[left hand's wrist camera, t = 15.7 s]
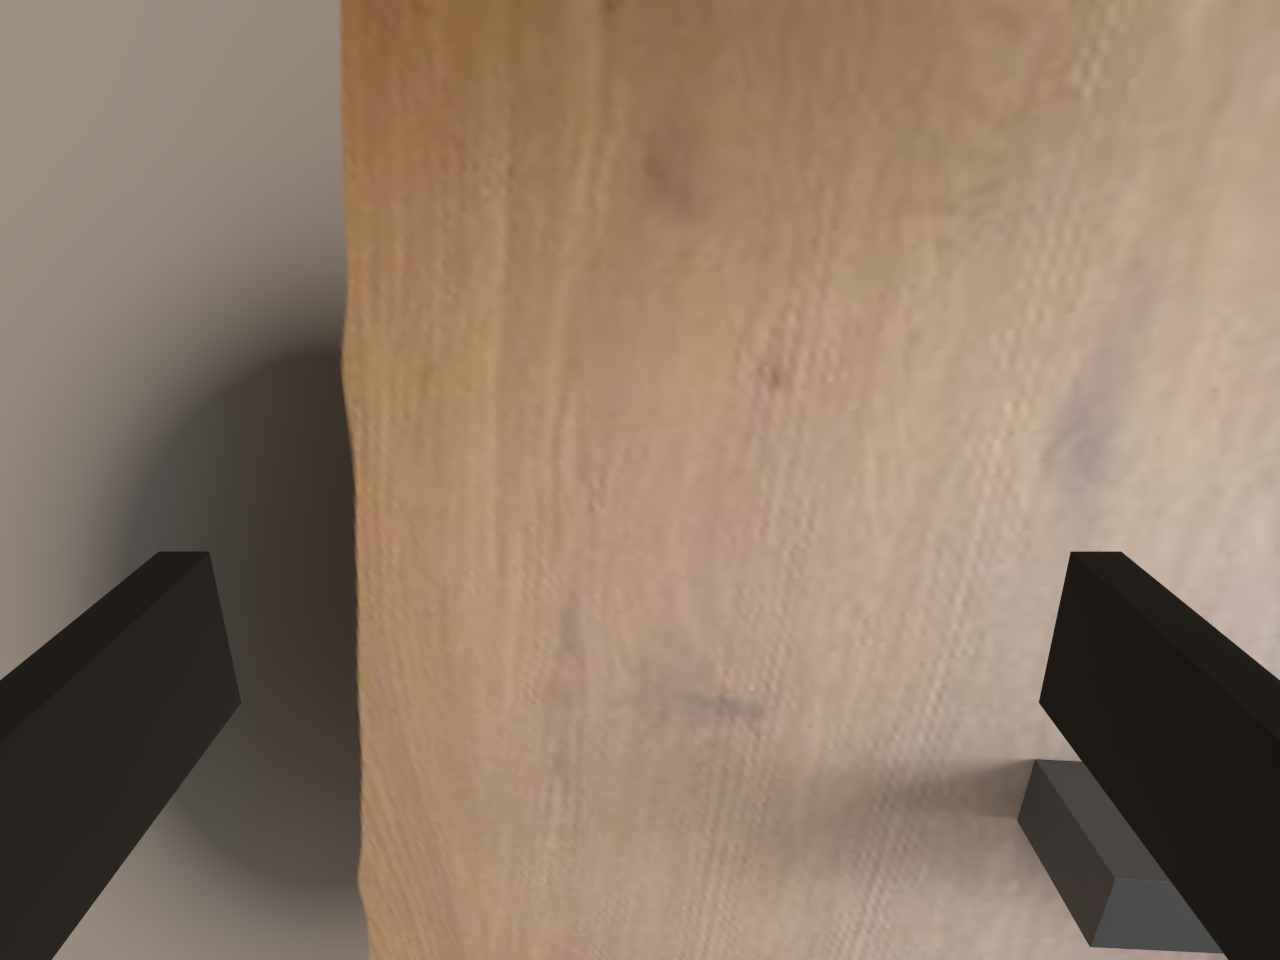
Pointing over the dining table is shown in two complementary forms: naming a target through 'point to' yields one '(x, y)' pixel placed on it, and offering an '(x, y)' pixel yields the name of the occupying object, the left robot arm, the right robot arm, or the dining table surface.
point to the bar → (1104, 865)
